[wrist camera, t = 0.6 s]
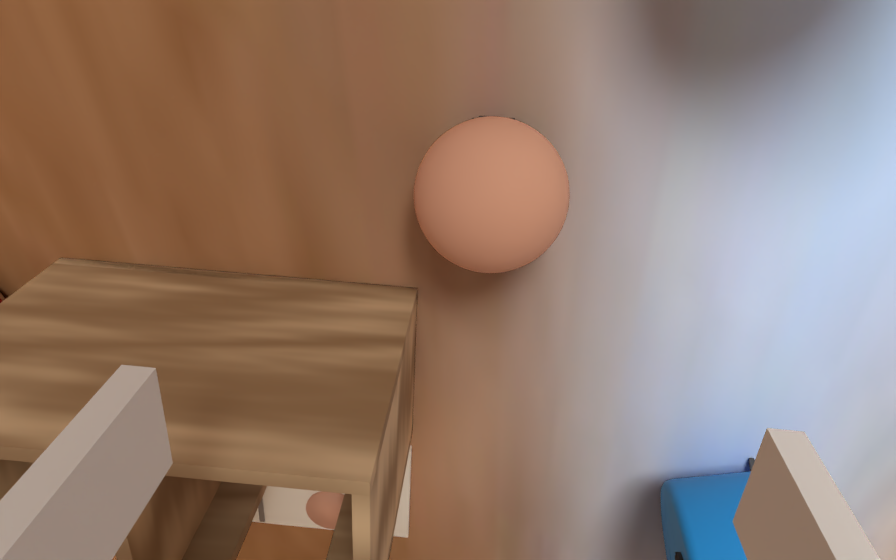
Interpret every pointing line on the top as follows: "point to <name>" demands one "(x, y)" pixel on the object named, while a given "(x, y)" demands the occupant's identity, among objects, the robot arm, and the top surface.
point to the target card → (321, 507)
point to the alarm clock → (703, 516)
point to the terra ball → (491, 194)
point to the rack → (223, 392)
